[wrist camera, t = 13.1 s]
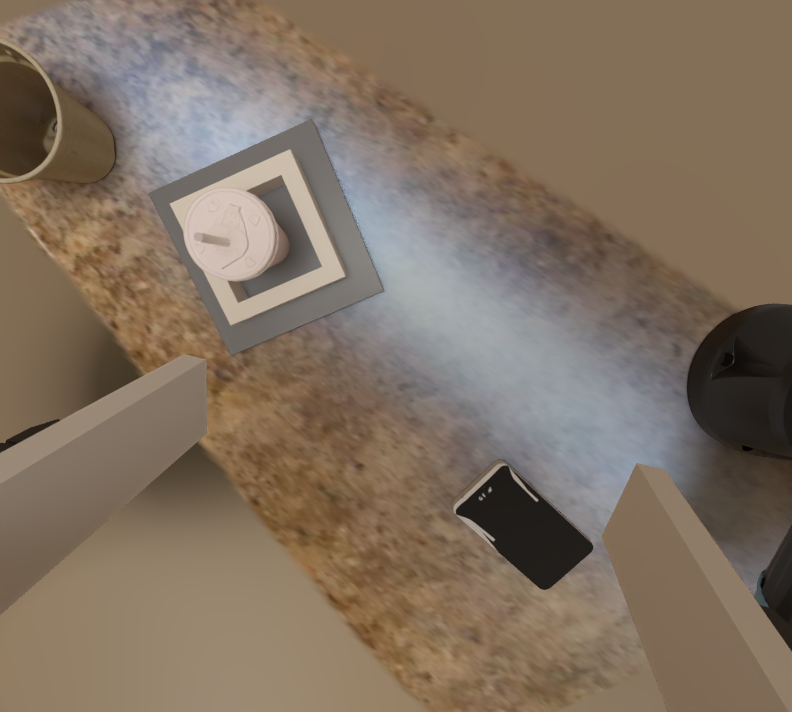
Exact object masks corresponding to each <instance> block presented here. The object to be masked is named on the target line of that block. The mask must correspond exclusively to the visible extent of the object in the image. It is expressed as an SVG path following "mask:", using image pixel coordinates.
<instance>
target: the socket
mask: <svg viewBox="0 0 792 712" xmlns="http://www.w3.org/2000/svg"><path fill="white" fill-rule="evenodd" d="M216 187H235V188H239V189H242V190H245V191H247V192H249V193H252V194H254V195H255V196H257V197H258V198H259V199H260V200H262V201H263V202H264V203H265V204H266V205H267V207H268V208H269V209H270V211H271V212H272V214H273V216H274V218H275V221H276V223H277V224H278V225H279V226H280V227H281V228H282V229H283V230H284V232H285V233H286V234H287V236H288V239H289V244H290V248H289V252H288V255H287V257H286V258H285V259H284V260H283V261H282V262H280V263H279V264H276V265H274V266H271V267H269V268H267V269H266V270H265V271H264V272H263V273H261V274H260V275H259V276H257V277H254V278H252V279H250V280H246V281H237V282H235V281H227V280H222V279H218V278H215V277H213V276H211V275H209V274H208V273H206V272H205V271H203V270H202V269H201V268H200V267H199V266H198V265H197V264H196V263H195V262H194V260H193V259H192V258H191V256H190V254H189V252H188V250H187V248H186V245H185V241H184V235H183V225H184V219H185V216H186V213H187V211H188V208H189V207H190V205H191V204H192V202H193V201H194V200H195V199H196V198H197V197H198V196H199V195H201V194H202V193H204V192H205V191H207V190H210V189H213V188H216ZM148 194H149V196H150V198H151V200H152V201H153V203H154V205H155V207H156V209H157V211H158V213H159V215H160V217H161V219H162V221H163V223H164V225H165V227H166V229H167V231H168V233H169V235H170V237H171V239H172V241H173V243H174V245H175V247H176V249H177V251H178V253H179V255H180V257H181V259H182V260H183V262H184V264H185V266H186V268H187V270H188V272H189V274H190V276H191V278H192V280H193V282H194V284H195V286H196V288H197V290H198V292H199V294H200V296H201V298H202V300H203V302H204V304H205V306H206V308H207V310H208V312H209V314H210V316H211V318H212V320H213V321H214V323H215V325H216V327H217V329H218V331H219V333H220V335H221V337H222V339H223V341H224V343H225V345H226V347H227V349H228V351H229V353H230V355H234V354H236V353H238V352H241V351H243V350H245V349H248V348H250V347H252V346H255V345H257V344H259V343H262V342H264V341H267V340H269V339H271V338H274V337H276V336H278V335H281V334H283V333H285V332H288V331H290V330H292V329H295V328H297V327H299V326H302V325H304V324H307V323H309V322H311V321H314V320H316V319H318V318H321V317H323V316H325V315H328V314H330V313H332V312H335V311H337V310H340V309H342V308H344V307H347V306H349V305H351V304H354V303H356V302H358V301H361V300H363V299H365V298H368V297H370V296H372V295H375V294H377V293H380V292H382V291H384V289H383V287H382V285H381V282H380V280H379V277H378V275H377V273H376V270H375V268H374V266H373V263H372V261H371V258H370V256H369V254H368V251H367V249H366V246H365V244H364V242H363V239H362V237H361V235H360V232H359V230H358V227H357V225H356V223H355V220H354V218H353V215H352V213H351V211H350V208H349V206H348V204H347V201H346V199H345V196H344V194H343V192H342V189H341V187H340V184H339V182H338V180H337V177H336V175H335V173H334V170H333V168H332V165H331V163H330V161H329V158H328V156H327V153H326V151H325V149H324V146H323V144H322V142H321V139H320V137H319V134H318V132H317V130H316V127H315V125H314V123H313V121H312V119H311V120H308V121H306V122H304V123H302V124H300V125H297V126H295V127H293V128H291V129H289V130H286V131H284V132H282V133H280V134H278V135H276V136H273V137H271V138H269V139H267V140H265V141H262V142H260V143H258V144H256V145H254V146H251V147H249V148H247V149H245V150H243V151H240V152H238V153H236V154H234V155H232V156H229V157H227V158H225V159H223V160H221V161H219V162H216V163H214V164H212V165H210V166H208V167H205V168H203V169H201V170H199V171H197V172H194V173H192V174H190V175H188V176H186V177H183V178H181V179H179V180H177V181H175V182H172V183H170V184H168V185H166V186H164V187H162V188H159V189H157V190H155V191H153V192H151V193H148Z"/></svg>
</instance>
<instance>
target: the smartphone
mask: <svg viewBox="0 0 792 712" xmlns="http://www.w3.org/2000/svg"><path fill="white" fill-rule="evenodd" d="M452 507H453V511H454V513H455V514H456V515H457V516H458V517H459V518H460V519H461V520H463V521H464V522H465V523H466V524H467V525H468V526H469V527H471V528H472V529H473V530H474V531H475V532H476V533H477V534H479V535H480V536H481V537H482V538H483V539H484V540H485V541H486V542H488V543H489V544H490V545H491V546H492V547H493V548H494V549H496V550H497V551H498V552H499V553H500V554H501V555H502V556H504V557H505V558H506V559H507V560H508V561H509V562H510V563H512V564H513V565H514V566H515V567H516V568H517V569H518V570H520V571H521V572H522V573H523V574H524V575H525V576H526V577H527V578H529V579H530V580H531V581H532V582H533V583H534V584H535V585H537V586H538V587H539V588H540V589H543V590H546V589H549V588H551V587H552V586H553V585H554V584H555V583H556V582H558V581H559V580H560V579H561V578H562V577H563V576H564V575H566V574H567V573H568V572H569V571H570V570H571V569H572V568H574V567H575V566H576V565H577V564H578V563H579V562H580V561H582V560H583V559H584V558H585V557H586V556H587V555H589V554H590V553H591V552H592V550H593V545H592V543H591V542H590V541H589V539H588V538H587V537H586V536H585V535H584V534H582V533H581V532H580V531H579V530H578V529H577V528H576V527H575V526H574V525H573V524H572V523H571V522H570V521H569V520H567V519H566V518H565V517H564V516H563V515H562V514H561V513H560V512H559V511H558V510H557V509H556V508H555V507H554V506H552V505H551V504H550V503H549V502H548V501H547V500H546V499H545V498H544V497H543V496H542V495H541V494H540V493H538V492H537V491H536V490H535V489H534V488H533V487H532V486H531V485H530V484H529V483H528V482H527V481H526V480H525V479H523V478H522V477H521V476H520V475H519V474H518V473H517V472H516V471H515V470H514V469H513V468H512V467H511V466H510V465H508V464H507V463H506V462H505V461H503V460H497V461H495V462H493V463H492V464H491V465H490V466H489V467H488V468H487V469H486V470H485V471H484V472H483V473H482V474H481V475H480V476H479V477H477V478H476V479H475V480H474V481H473V482H472V483H471V484H470V485H469V486H468V487H467V488H466V489H465V490H464V491H463V492H462V493H461V494H459V495H458V496H457V497H456V498H455V499H454V500H453V502H452Z"/></svg>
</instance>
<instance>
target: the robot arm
mask: <svg viewBox="0 0 792 712" xmlns="http://www.w3.org/2000/svg"><path fill="white" fill-rule="evenodd" d="M688 397H689V403H690V407H691V410H692V412H693V415H694V417H695V419H696V420H697V422H698V423H699V425H700V426H701V427H702V428H703V429H704V430H705V431H706V432H707V433H708V434H709V435H710V436H712V437H713V438H715V439H716V440H718V441H720V442H722V443H724V444H726V445H728V446H730V447H732V448H734V449H736V450H739V451H741V452H744V453H748V454H752V455H757V456H765V457H771V458H778V459H785V460H792V305H787V304H765V305H759V306H755V307H751V308H748V309H745V310H743V311H741V312H739V313H737V314H735V315H733V316H731V317H730V318H728V319H727V320H725V321H724V322H723V323H721V324H720V325H719V326H718V327H717V328H716V329H714V331H713V332H712V333H711V334H710V335H709V336H708V337H707V338H706V340H705V341H704V342H703V344H702V345H701V347H700V348H699V350H698V352H697V354H696V356H695V358H694V361H693V363H692V366H691V369H690V374H689V379H688ZM205 434H207V389H206V359H202V358H198V357H194V356H190V355H185V354H183V355H181V356H179V357H178V358H176V359H174V360H172V361H170V362H168V363H166V364H165V365H163V366H161V367H159V368H157V369H155V370H153V371H152V372H150V373H148V374H146V375H144V376H142V377H140V378H139V379H137V380H135V381H133V382H131V383H129V384H128V385H126V386H124V387H122V388H120V389H118V390H116V391H115V392H113V393H111V394H109V395H107V396H105V397H103V398H101V399H100V400H98V401H96V402H94V403H92V404H90V405H89V406H87V407H85V408H83V409H81V410H79V411H77V412H75V413H74V414H72V415H70V416H68V417H66V418H64V419H62V420H59V419H57V420H54V421H51V422H47V423H44V424H41V425H38V426H35V427H31V428H29V429H27V430H25V431H23V432H21V433H19V434H17V435H15V436H13V437H12V438H10V439H8V440H6V443H0V615H1V614H2V613H3V612H4V611H5V610H6V609H8V608H9V607H10V606H11V605H12V604H13V603H14V602H16V601H17V600H18V599H19V598H20V597H21V596H22V595H24V594H25V593H26V592H27V591H28V590H29V589H30V588H31V587H33V586H34V585H35V584H36V583H37V582H38V581H39V580H41V579H42V578H43V577H44V576H45V575H46V574H47V573H48V572H50V571H51V570H52V569H53V568H54V567H55V566H56V565H58V564H59V563H60V562H61V561H62V560H63V559H64V558H66V557H67V556H68V555H69V554H70V553H71V552H72V551H73V550H75V549H76V548H77V547H78V546H79V545H80V544H81V543H83V542H84V541H85V540H86V539H87V538H88V537H89V536H91V534H93V533H94V532H95V531H96V530H97V529H99V528H100V527H101V526H102V525H103V524H104V523H105V522H106V521H108V520H109V519H110V518H111V517H112V516H113V515H114V514H115V513H117V512H118V511H119V510H120V509H121V508H122V507H123V506H125V505H126V504H127V503H128V502H129V501H130V500H131V499H133V498H134V497H135V496H136V495H137V494H138V493H139V492H141V491H142V490H143V489H144V488H145V487H146V486H147V485H149V484H150V483H151V482H152V481H153V480H154V479H155V478H156V477H158V476H159V475H160V474H161V473H162V472H163V471H164V470H166V469H167V468H168V467H169V466H170V465H171V464H172V463H174V462H175V461H176V460H177V459H178V458H179V457H180V456H181V455H182V454H184V453H185V452H186V451H187V450H188V449H189V448H191V447H192V446H193V445H194V444H195V443H196V442H197V441H199V440H200V439H201V438H202V437H203V436H204V435H205ZM602 538H603V541H604V543H605V546H606V549H607V551H608V554H609V557H610V559H611V562H612V565H613V567H614V570H615V573H616V575H617V578H618V581H619V583H620V586H621V589H622V591H623V594H624V597H625V599H626V602H627V605H628V607H629V610H630V613H631V615H632V618H633V621H634V623H635V626H636V629H637V631H638V634H639V637H640V639H641V642H642V645H643V647H644V650H645V653H646V655H647V658H648V661H649V663H650V666H651V669H652V671H653V674H654V677H655V679H656V682H657V685H658V687H659V690H660V692H661V695H662V698H663V700H664V703H665V705H666V708H667V711H668V712H792V525H791V527H790V529H789V530H788V532H787V534H786V536H785V537H784V539H783V541H782V543H781V545H780V546H779V548H778V550H777V552H776V554H775V555H774V557H773V559H772V561H771V562H770V564H769V566H768V568H767V569H766V570H764V571H762V573H761V574H760V576H759V578H758V581H757V591H756V593H755V595H754V597H753V595H752V594H751V593H750V591H749V590H748V588H747V587H746V585H745V584H744V583H743V581H742V580H741V578H740V577H739V575H738V574H737V573H736V571H735V570H734V568H733V567H732V565H731V564H730V562H729V561H728V560H727V558H726V557H725V555H724V554H723V552H722V551H721V550H720V548H719V547H718V545H717V544H716V542H715V541H714V540H713V538H712V537H711V535H710V534H709V532H708V531H707V530H706V528H705V527H704V525H703V524H702V522H701V521H700V520H699V518H698V517H697V515H696V514H695V512H694V511H693V509H692V508H691V507H690V505H689V504H688V502H687V501H686V499H685V498H684V497H683V495H682V494H681V492H680V491H679V489H678V488H677V487H676V485H675V484H674V482H673V481H672V479H671V478H670V477H669V475H668V474H667V472H666V471H665V470H662V469H658V468H654V467H650V466H646V465H642V464H636V466H635V468H634V470H633V472H632V474H631V477H630V479H629V481H628V483H627V485H626V487H625V489H624V491H623V493H622V495H621V497H620V499H619V501H618V503H617V506H616V508H615V510H614V512H613V514H612V516H611V518H610V520H609V522H608V524H607V526H606V528H605V530H604V532H603V535H602Z"/></svg>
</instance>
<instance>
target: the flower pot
mask: <svg viewBox="0 0 792 712" xmlns="http://www.w3.org/2000/svg"><path fill="white" fill-rule="evenodd" d="M56 122H57V129H56V131H54V125H55V123H56ZM114 161H115V152H114V139H113V136H112V133H111V131H110V130H109V128H108V127H107V125H106V124H105V123H104V122H103V120H102V119H100V118H99V117H98V116H97V115H96V114H94V113H92V112H91V111H90V110H89V109H87V108H86V107H84V106H83V105H82V104H80V103H79V102H78V101H76V100H75V99H74V98H73V97H71V96H70V95H69V94H67V93H66V92H65V91H64V90H62V89H61V88H60V87H58V86H57V85H56V84H55V83H54V82H53V80H52V79H51V78H50V77H49V76H48V74H47V73H46V71H45V70H44V69H43V68H42V66H41V65H40V64H39V63H38V62H37V61H36V60H35V59H34V58H33V57H32V56H30V55H29V54H28V53H27V52H25V51H24V50H23V49H21V48H20V47H18V46H17V45H15V44H13V43H11V42H9V41H7V40H5V39H2V38H0V183H3V184H12V183H19V182H24V181H27V180H32V179H47V180H57V181H67V182H75V183H93V182H96V181H98V180H100V179H102V178H103V177H105V176H106V175H107V174H108V173H109V172H110V170H111V168H112V167H113V164H114Z"/></svg>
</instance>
